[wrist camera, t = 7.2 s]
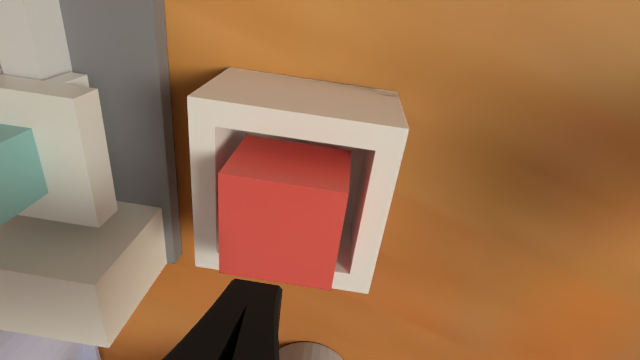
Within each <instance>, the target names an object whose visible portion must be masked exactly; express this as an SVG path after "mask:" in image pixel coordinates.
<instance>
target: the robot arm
mask: <svg viewBox="0 0 640 360" xmlns="http://www.w3.org/2000/svg"><path fill="white" fill-rule="evenodd" d="M281 299H282V289H281V288H280V286H277V285H271V284H265V283H259V282H253V281H246V280H240V279H234V280H232V281H231V282H230V284H229V285H228V286H227V288H226V289H225V290H224V292H223V293H222V294H221V296H220V297H219V298H218V299H217V301H216V302H215V303H214V304H213V305H212V307H211V308H210V309H209V310H208V311H207V312H206V314H205V315H204V316H203V317H202V318H201V319H200V320H199V322H198V323H197V324H196V325H195V326H194V327H193V328H192V329H191V330H190V332H189V333H188V334H187V335H186V336H185V337H184V338H183V339H182V340H181V341H180V342H179V343H178V344H177V345H176V346H175V347H174V348H173V349H172V350H171V351H170V352H169V353H168V354H167V355H166V356H165V357H164V358H163V359H162V360H280V358H279V342H278V329H279V319H280V309H281ZM0 360H101V357H100V353H99V349H98V346H93V345H87V344H81V343H75V342H69V341H63V340H57V339H51V338H45V337H40V336H34V335H28V334H22V333H16V332H10V331H4V330H0Z"/></svg>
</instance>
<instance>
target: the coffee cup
mask: <svg viewBox="0 0 640 360" xmlns="http://www.w3.org/2000/svg"><path fill="white" fill-rule="evenodd" d="M279 358H280V360H343V359H342V358H341V357H340V355H338V354H337V353H336V352H335V351H333V350H332V349H330V348H328V347H326V346H324V345H321V344H317V343H313V342H297V343H293V344H289V345H287V346H284V347H282V348H281V349H279Z"/></svg>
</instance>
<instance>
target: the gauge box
mask: <svg viewBox="0 0 640 360" xmlns="http://www.w3.org/2000/svg"><path fill="white" fill-rule="evenodd" d="M187 108H188V127H189V147H190V167H191V187H192V207H193V227H194V247H195V266H198V267H204V268H210V269H217V270H219V214H218V173H219V171H220V170H221V169H222V167H223V166H224V165H225V163H226V162H227V160H228V159H229V158H230V156H231V155H232V154H233V152H234V151H235V150H236V148H237V147H238V145H239V144H240V143H241V141H242V140H243V139H244V137H245V136H246V135H250V136H257V137H263V138H270V139H277V140H283V141H290V142H297V143H303V144H310V145H316V146H323V147H330V148H336V149H343V150H350V151H351V167H350V184H349V196H348V201H347V207H346V212H345V218H344V223H343V228H342V234H341V239H340V245H339V250H338V256H337V261H336V267H335V272H334V277H333V283H332V288H334V289H340V290H347V291H353V292H359V293H365V294H368V293H369V289H370V285H371V281H372V277H373V273H374V269H375V264H376V260H377V256H378V252H379V248H380V244H381V240H382V236H383V232H384V228H385V224H386V220H387V216H388V212H389V208H390V204H391V200H392V196H393V192H394V188H395V184H396V180H397V176H398V172H399V168H400V164H401V160H402V156H403V152H404V148H405V144H406V140H407V136H408V132H409V127H408V124H407V120H406V117H405V114H404V111H403V108H402V104H401V101H400V98H399V95H398V92H397V91H390V90H383V89H376V88H369V87H362V86H356V85H349V84H342V83H335V82H328V81H321V80H314V79H308V78H301V77H294V76H287V75H280V74H273V73H266V72H260V71H253V70H246V69H239V68H232V67H229V68H228V69H226V70H225V71H223V72H222V73H220V74H219V75H217V76H216V77H214V78H213V79H212V80H210V81H209V82H207V83H206V84H204V85H203V86H201V87H200V88H198V89H197V90H195V91H194V92H192V93H191V94H189V95H188V96H187Z"/></svg>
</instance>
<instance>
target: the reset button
mask: <svg viewBox="0 0 640 360" xmlns="http://www.w3.org/2000/svg"><path fill="white" fill-rule="evenodd" d="M350 167H351V151H350V150H343V149H336V148H330V147H323V146H316V145H310V144H303V143H297V142H290V141H283V140H277V139H270V138H263V137H257V136H250V135H246V136H245V137H244V139H243V140H242V141H241V143H240V144H239V145H238V147H237V148H236V150H235V151H234V152H233V154H232V155H231V156H230V158H229V159H228V160H227V162H226V163H225V165H224V166H223V167H222V169H221V170H220V171H219V173H218V214H219V273H224V274H230V275H237V276H243V277H249V278H255V279H261V280H268V281H274V282H280V283H286V284H292V285H298V286H305V287H311V288H317V289H323V290H329V291H331V288H332V283H333V277H334V272H335V267H336V261H337V256H338V250H339V245H340V239H341V234H342V228H343V223H344V218H345V212H346V207H347V201H348V196H349V184H350Z"/></svg>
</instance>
